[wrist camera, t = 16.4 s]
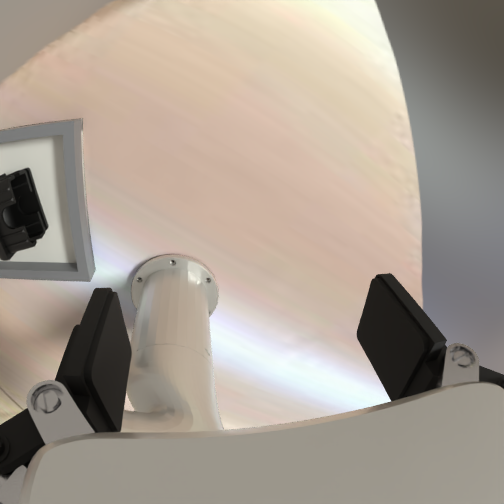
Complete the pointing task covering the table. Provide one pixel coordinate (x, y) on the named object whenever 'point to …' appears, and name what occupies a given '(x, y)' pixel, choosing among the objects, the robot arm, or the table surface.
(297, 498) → the robot arm
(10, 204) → the end cap
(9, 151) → the tray
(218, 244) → the table surface
